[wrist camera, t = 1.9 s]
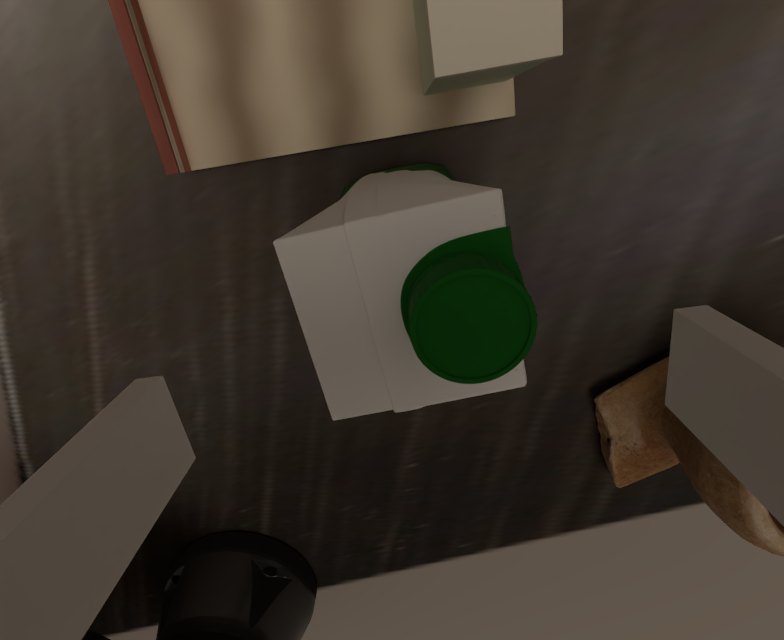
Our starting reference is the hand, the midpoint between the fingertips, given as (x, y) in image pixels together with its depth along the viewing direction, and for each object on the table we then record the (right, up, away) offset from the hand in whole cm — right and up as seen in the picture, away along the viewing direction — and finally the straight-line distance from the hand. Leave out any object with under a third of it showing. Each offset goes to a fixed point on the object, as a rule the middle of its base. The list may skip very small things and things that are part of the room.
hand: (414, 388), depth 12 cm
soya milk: (0, +9, +21) cm, 23 cm away
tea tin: (+3, +19, +14) cm, 24 cm away
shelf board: (-4, +18, +17) cm, 25 cm away
